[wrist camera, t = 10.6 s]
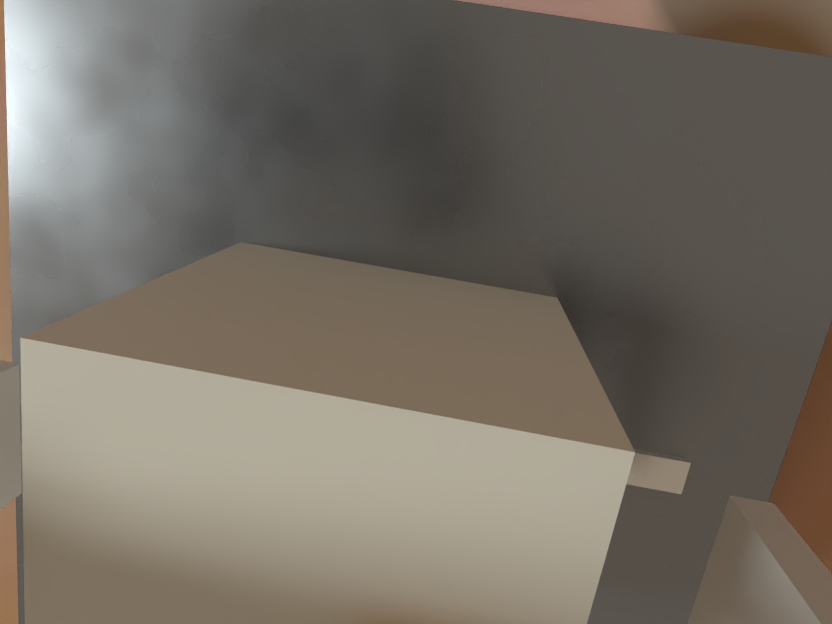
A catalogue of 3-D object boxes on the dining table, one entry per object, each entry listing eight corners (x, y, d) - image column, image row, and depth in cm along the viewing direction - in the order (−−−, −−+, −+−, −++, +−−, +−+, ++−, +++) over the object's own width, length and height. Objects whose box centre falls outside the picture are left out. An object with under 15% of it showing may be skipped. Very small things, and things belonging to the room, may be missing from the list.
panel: (36, -54, 14) (-287, -194, 8) (886, 75, 13) (1222, 22, 7) (43, 626, 19) (-153, 844, 13) (657, 752, 18) (744, 1047, 12)
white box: (218, 515, 16) (-3, 837, 9) (240, 241, 14) (-20, 354, 7) (495, 570, 16) (510, 954, 8) (557, 297, 14) (650, 480, 6)
